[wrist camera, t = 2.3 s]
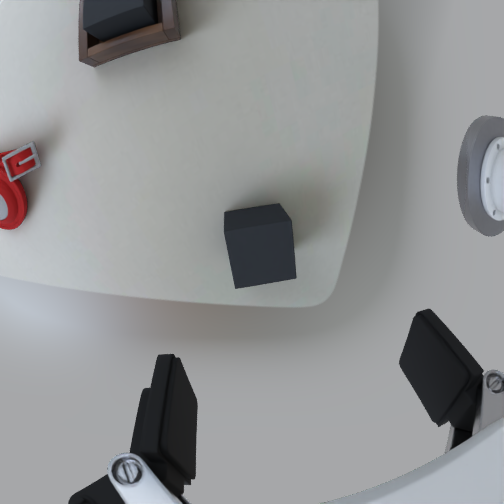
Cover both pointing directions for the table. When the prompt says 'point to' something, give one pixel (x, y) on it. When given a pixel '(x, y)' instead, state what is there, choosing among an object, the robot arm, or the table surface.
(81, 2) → the frame
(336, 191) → the table surface
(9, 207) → the tracker holder
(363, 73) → the table surface
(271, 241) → the dark grey block
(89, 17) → the dark grey cube
